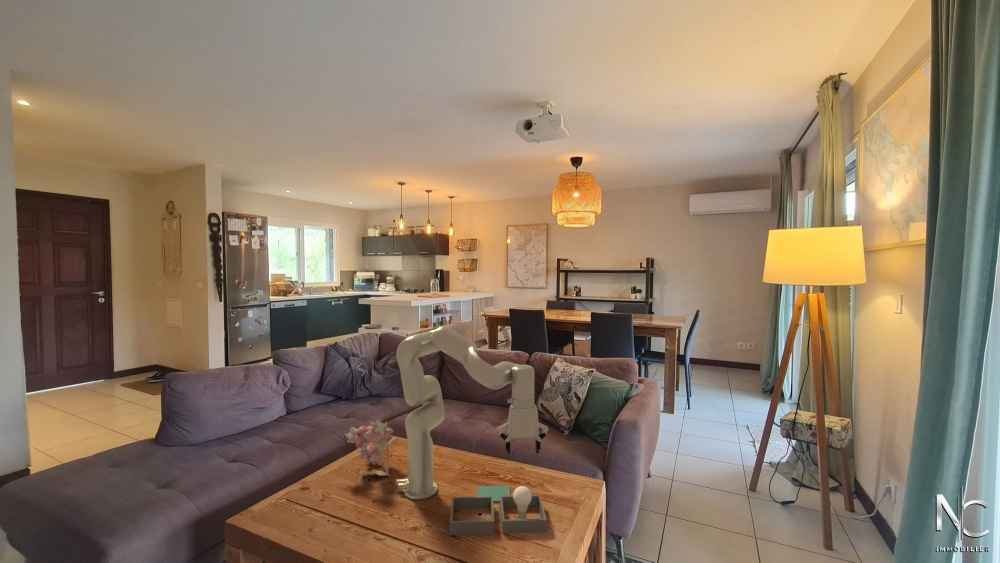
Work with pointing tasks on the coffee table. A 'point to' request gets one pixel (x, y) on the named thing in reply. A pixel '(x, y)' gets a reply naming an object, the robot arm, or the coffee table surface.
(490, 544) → the coffee table surface
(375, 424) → the flower
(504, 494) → the mat
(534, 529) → the box
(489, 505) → the box
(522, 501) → the lightbulb
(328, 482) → the coffee table surface
